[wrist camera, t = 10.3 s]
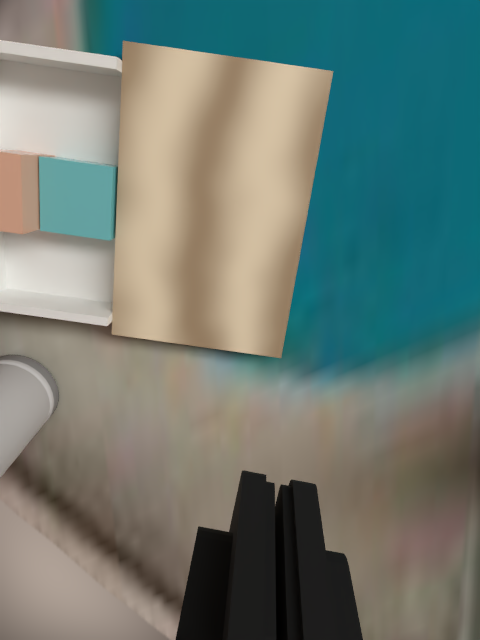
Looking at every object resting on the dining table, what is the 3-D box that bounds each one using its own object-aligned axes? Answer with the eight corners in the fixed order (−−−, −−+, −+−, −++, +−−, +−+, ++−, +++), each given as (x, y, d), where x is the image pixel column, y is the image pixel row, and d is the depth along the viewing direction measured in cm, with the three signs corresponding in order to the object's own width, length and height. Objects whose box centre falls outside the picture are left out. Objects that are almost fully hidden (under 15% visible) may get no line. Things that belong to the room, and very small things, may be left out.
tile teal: (124, 166, 29) (112, 166, 27) (121, 234, 31) (110, 240, 29) (56, 156, 29) (38, 156, 27) (56, 225, 31) (40, 230, 28)
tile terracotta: (20, 154, 25) (-24, 148, 25) (23, 234, 27) (-19, 228, 27) (55, 155, 29) (17, 149, 29) (55, 224, 31) (19, 219, 31)
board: (326, 78, 28) (333, 71, 25) (279, 344, 34) (280, 358, 31) (134, 50, 28) (123, 40, 25) (121, 322, 34) (111, 334, 31)
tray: (133, 69, 28) (117, 56, 25) (122, 309, 33) (107, 326, 30) (-10, 48, 28) (-46, 33, 24) (2, 293, 33) (-26, 307, 30)
